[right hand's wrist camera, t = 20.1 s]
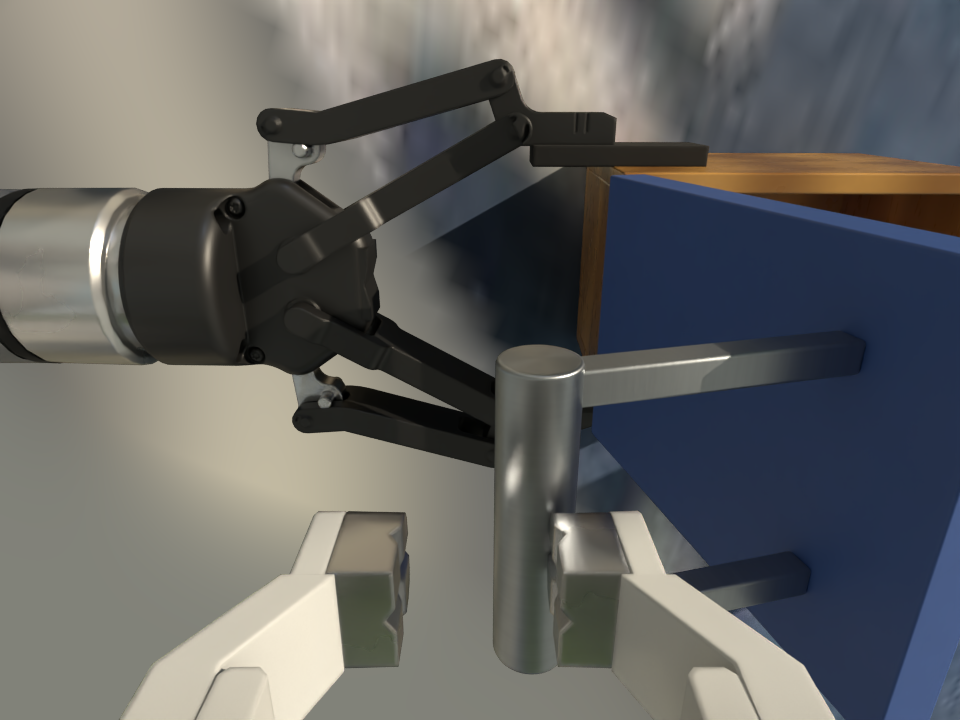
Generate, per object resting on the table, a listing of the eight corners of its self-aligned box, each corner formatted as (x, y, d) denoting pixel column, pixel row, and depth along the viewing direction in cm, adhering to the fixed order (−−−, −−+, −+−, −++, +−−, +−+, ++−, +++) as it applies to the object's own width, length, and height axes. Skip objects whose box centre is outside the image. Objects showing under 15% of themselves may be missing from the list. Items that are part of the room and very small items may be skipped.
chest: (859, 153, 30) (1012, 173, 21) (819, 341, 34) (935, 427, 25) (587, 152, 31) (623, 172, 22) (576, 338, 34) (603, 422, 25)
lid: (1100, 263, 9) (563, 307, 7) (925, 736, 13) (535, 849, 11) (645, 173, 21) (399, 181, 19) (621, 428, 25) (412, 455, 23)
